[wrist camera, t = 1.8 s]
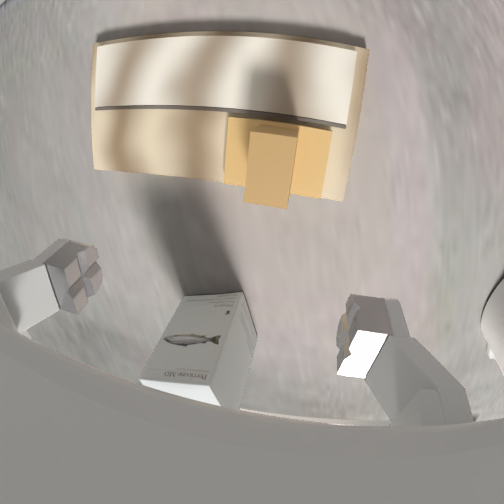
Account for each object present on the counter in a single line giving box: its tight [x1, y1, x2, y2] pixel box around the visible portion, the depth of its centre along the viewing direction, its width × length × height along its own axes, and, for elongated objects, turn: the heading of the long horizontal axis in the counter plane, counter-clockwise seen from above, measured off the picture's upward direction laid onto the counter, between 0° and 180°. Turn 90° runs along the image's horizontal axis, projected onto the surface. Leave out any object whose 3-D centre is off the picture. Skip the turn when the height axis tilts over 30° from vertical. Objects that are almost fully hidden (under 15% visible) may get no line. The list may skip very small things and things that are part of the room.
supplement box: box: [139, 292, 257, 410], centre depth 30 cm, size 7×7×13 cm
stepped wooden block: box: [224, 116, 332, 209], centre depth 22 cm, size 8×6×5 cm
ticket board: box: [91, 31, 369, 202], centre depth 23 cm, size 24×13×2 cm, turn 85°
